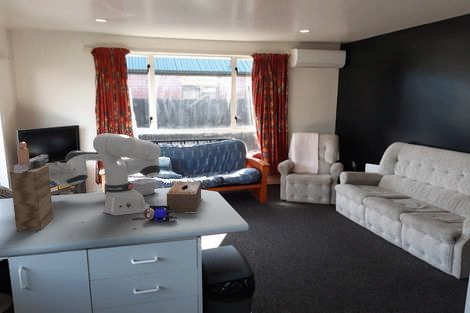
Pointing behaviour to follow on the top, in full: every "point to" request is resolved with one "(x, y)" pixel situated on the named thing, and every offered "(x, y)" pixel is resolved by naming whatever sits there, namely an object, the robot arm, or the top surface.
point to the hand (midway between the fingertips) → (46, 163)
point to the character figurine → (159, 213)
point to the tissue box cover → (184, 197)
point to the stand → (32, 197)
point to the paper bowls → (145, 185)
